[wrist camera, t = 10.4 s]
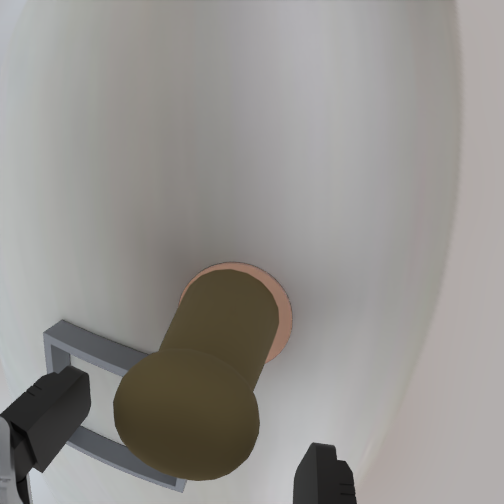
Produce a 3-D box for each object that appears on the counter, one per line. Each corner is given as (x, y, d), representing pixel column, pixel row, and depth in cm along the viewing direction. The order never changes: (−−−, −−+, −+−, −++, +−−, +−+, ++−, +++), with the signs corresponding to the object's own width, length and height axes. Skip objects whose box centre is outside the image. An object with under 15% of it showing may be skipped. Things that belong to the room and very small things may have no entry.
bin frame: (62, 319, 21) (43, 332, 19) (211, 375, 21) (203, 396, 18) (71, 425, 24) (59, 440, 22) (189, 473, 24) (182, 492, 21)
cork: (243, 249, 18) (186, 341, 7) (298, 334, 19) (303, 480, 8) (162, 298, 19) (57, 403, 9) (216, 373, 20) (165, 508, 9)
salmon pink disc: (191, 248, 19) (188, 250, 18) (306, 279, 19) (306, 282, 18) (174, 347, 21) (171, 351, 20) (274, 375, 20) (274, 380, 20)
